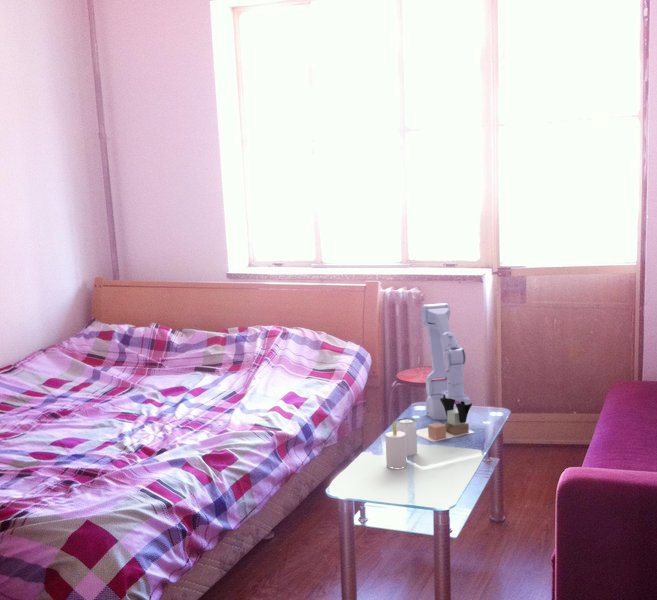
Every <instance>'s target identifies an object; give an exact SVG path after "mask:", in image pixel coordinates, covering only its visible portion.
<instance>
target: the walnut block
mask: <svg viewBox="0 0 657 600" xmlns="http://www.w3.org/2000/svg"><path fill="white" fill-rule="evenodd" d="M444 424H445V425H446V432H448V433H450V434H452V435H460V434H464V433H469V430H470V429H469V428H470V427H469V426H470V425H469V423H468V422H465V424H461V425H456V426H454V425H452V424H449V423H448V421H447V422H444Z"/></svg>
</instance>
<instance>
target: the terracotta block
mask: <svg viewBox="0 0 657 600" xmlns="http://www.w3.org/2000/svg"><path fill="white" fill-rule="evenodd" d="M443 424H444V423H441V422H435V423H430V424H428V426H427V428H428V435H429V437H430V438H432V439H434V440H439V439H443V438H446V425H443ZM439 441H440V440H439Z"/></svg>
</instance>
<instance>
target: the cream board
mask: <svg viewBox="0 0 657 600" xmlns="http://www.w3.org/2000/svg"><path fill="white" fill-rule="evenodd" d="M442 424H443V425H445V423H442ZM473 433H474V434H475V431H473V430H471V429H469V433H464V434H460V435H452V434H450V433H448V432H446V438H443V439H439V440H434V439H432V438H430V437H429V435H428V427H425V428H420V429H416V434H417V436H419V437H421V438H423V439H426V440H428V441H430V442H433V443H434V442H439V441H443V440H448V439H452V438H455V437H456V438H457V437H461V436H465V435H469V434H473Z"/></svg>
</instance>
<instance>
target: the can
mask: <svg viewBox="0 0 657 600" xmlns="http://www.w3.org/2000/svg"><path fill="white" fill-rule="evenodd" d="M396 430H397V431H401V432H404V433H405V440H406V457H410V456H415V455H417V454H418V440H417V437H418V435H417V434H416V430H417V424H416V422H415V419H414V418H410V417H403V418H398V420H397V423H396Z"/></svg>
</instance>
